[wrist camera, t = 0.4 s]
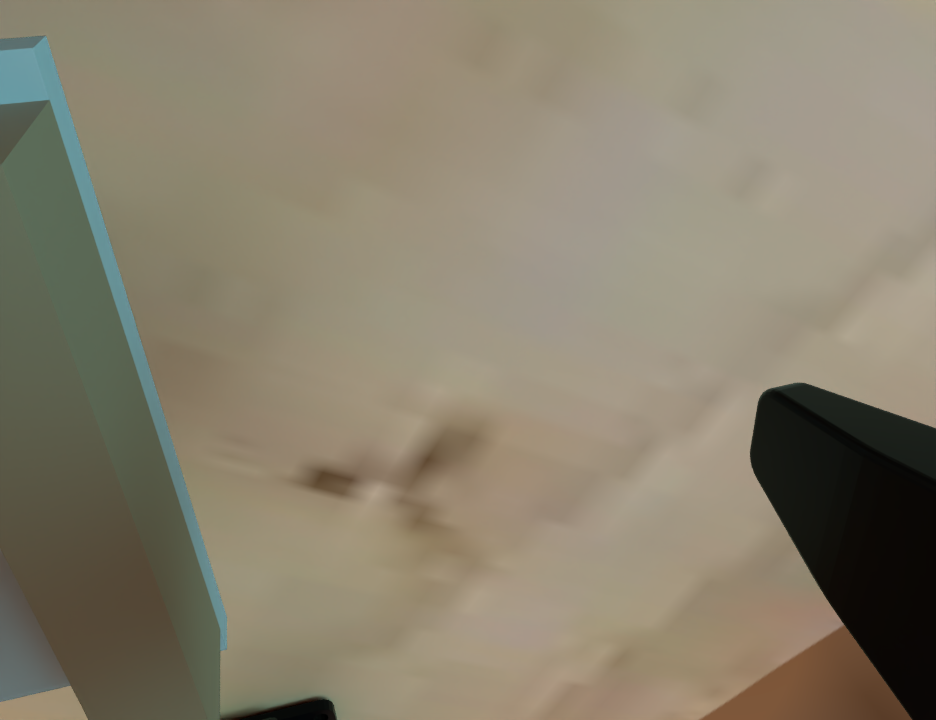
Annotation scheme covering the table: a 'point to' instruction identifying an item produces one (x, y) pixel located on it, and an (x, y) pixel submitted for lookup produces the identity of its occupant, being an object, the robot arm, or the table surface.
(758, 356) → the table surface
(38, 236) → the lid
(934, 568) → the robot arm
